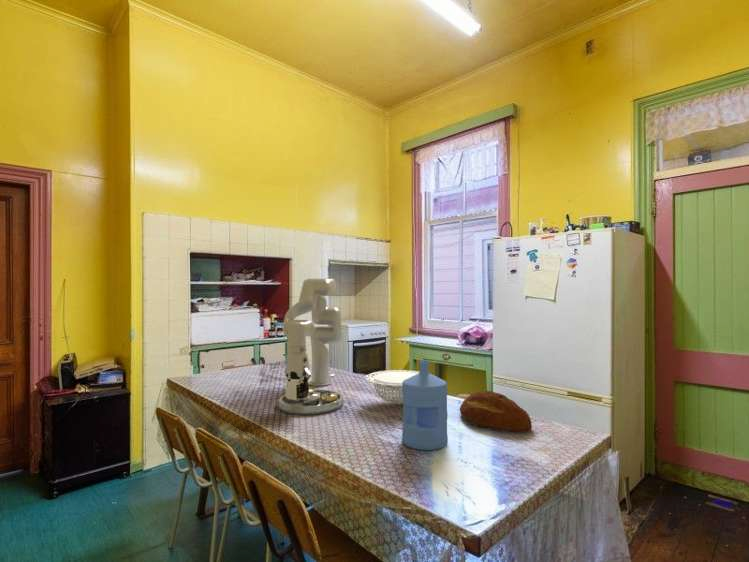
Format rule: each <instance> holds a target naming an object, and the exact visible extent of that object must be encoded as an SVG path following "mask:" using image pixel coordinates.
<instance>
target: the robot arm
mask: <svg viewBox="0 0 749 562" xmlns="http://www.w3.org/2000/svg"><path fill="white" fill-rule="evenodd" d="M301 286H302V287H301V291H300V295H299V299H298V302H296V303H295V304H294V305H292V306H291V307H289V308H288V310H287V311H286V313H285V316H284V319H283V323H282V333H283V335H284V336H286V337H288V352H287V357H286V367H285V368H284V370H283V372H284V374H285V377H286V381H287V382H288V381H291V380H290V372H296V373H297V376H298V377H300V380H301V383H300V392H301V393H302V392H306V391H307V382H309V386H314V387H325V386H329V385H332V383H333V381H332V380H331V379H334V378H335V373H333V374H330V351H329V349H328V347H327V346H326V345H328V344H331V345H335V344H340V343H341V341H342V339H343V337H342V336H343V335H342V334H343V333H342V332H343V331H342V315H341V314H342V313H341V311H340V309H339V308H338V307H336V306H335V307H331V306H330V307H328V305H327V297H330V296H333V295H334V294H335V293H336V289H337V284H336V280H334V278H306V279H305V280H304V281H303V282H302V285H301ZM310 312H311V313H310ZM307 313H310V314H311V319H310V320H309V319H296V318H298V317H300V316H302V315H305V314H307ZM315 325H316V326H315ZM319 325H321V326H319ZM324 325H325V326H324ZM307 337H309V338H310V344H311V345H310V346H311V372H310V364H309V363H310V362H309V357H308V356H309V355H308V353H307V341H306V340H307ZM303 377H304V380H303ZM310 378H311V380H310Z"/></svg>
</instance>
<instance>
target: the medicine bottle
mask: <svg viewBox="0 0 749 562" xmlns="http://www.w3.org/2000/svg"><path fill="white" fill-rule="evenodd" d="M290 380H291V381H288V380H287V381H285V394H286V398H287V399H291V400H296V401H298V400H301V399H304V398H308V397H309V388H310V384H309V381H308V382H307V391H306V392H302V393H301V392H300V383H301V380H300V377H298V376H297V373H296V372H290ZM303 380H304V377H303Z"/></svg>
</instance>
